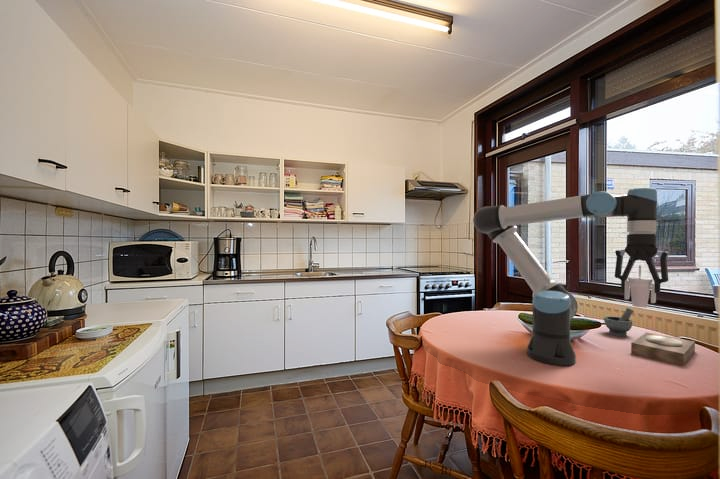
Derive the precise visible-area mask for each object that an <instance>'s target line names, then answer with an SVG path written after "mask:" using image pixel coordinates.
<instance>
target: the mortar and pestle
mask: <svg viewBox="0 0 720 479" xmlns="http://www.w3.org/2000/svg"><path fill="white" fill-rule="evenodd" d="M633 313H634V310H633V309H632V308H629V307H626V308H625V311H624V312H623V314H622V315H621V316H604V317H603V321H604V322H603V323H604V324H605V326H606V328H607V329H608V330H609V331H608V333H609V334H610V335H612V336H617V337H627V336H628V333H627V332H629V331H630V330H631V329H632V326H633V320H631V319H630V318H631V316H632V314H633Z"/></svg>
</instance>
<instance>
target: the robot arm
mask: <svg viewBox="0 0 720 479" xmlns="http://www.w3.org/2000/svg"><path fill="white" fill-rule="evenodd" d="M657 192H658V191H657V189H656V188H654V187H648V186H647V187H637V188H636V187H635V188H631V189H628V190H627V193H626V194H622V195H614V194H612V193H611V192H608V191H604V190H602V191H595V192H593V193H589V194H584V195H583V194H582V195H577V196H571V197H570V196H569V197H565V198H557V199H550V200H542V201H537V202H529V203H524V204H517V205H511V206H510V205H509V206H505V205H503V204H500V205H492V206H491V205H490V206H482V207H480V208H478V209H477V211H475V213H474V215H473V218H472V223H473V226H474V228H475V229H476V230H477V231H478V232H480V233H482V234H485V235H486V234H487V236H488V238H489V239H490V240H491V241H492V242H493V243H494V244H498V245H499V246H500V247H501V249H502V250H503V252H504V253H505V254H506V256H507V257H508V258H509V260H510V261H511V263H512V264H513V265H514V267H515V269H516V270H517V271H518V272H519V274H520V275H521V276H522V278H523V279H524V281H525V282H526V283H527V285H528V286H529V287H530V289H531V291H532V301H531V302H532V304H531V305H532V333H531V336H530V339H529V342H528V345H527V347H526V355H527V356H528V357H529V358H531V359H533V360H535V361H537V362H540V363H544V364H546V365H547V364H549V365H553V366H561V367H563V366H564V367H565V366H566V367H567V366H573V365H575V364H576V363H577V360H576V359H577V355H576V353H575V349H574V347H573V344H572V341H571V320H572V319H573V318H574V317H575V316H576V315H577V312H578V300H577V299H576V298H575V296H574V295H573V294H572V293H571V292H569V291H568V290H566V288H565V287H564V286H563V285H562V283H561V282H559V281H556V280H553V278H552V277H551V276H550V274H549V273H548V271H547V270H546V269H545V268H544V266H542V264H541V262H540V261H539V260H538V259H537V257H536V256H535V255H534V254H533V252H532V251H531V250H530V248H529V247H528V246H527V244H526V243H525V242H524V240H523V239H522V238H521V237H520V235H519V234H518V225H520V226H521V225H526V224H535V223H544V222H545V223H547V222H552V221H561V220H572V219H578V218H596V219H597V218H614V217H615V218H616V217H627V219H626V220H627V223H626V232H627V233H628V234H627V235H626V246H625V248H623V249H616V250H615V251H614V252H615V256H616V261H615V268H614V269H615V270H614V277H615V278H616V279H619V280H620V288H621V290H624V300H626V301H628V300H630V297H631V291H630V284H629V280H628V277H630V273H631V271H632V270H633V266H634V264H635V263H636V262H637V261H643V262H645V263H646V265H647V267H648V269H649V271H650V272H649V273H650V275H651V278H652V279H653V280H652V281H653V282H651V287H650V303H651V304H656V303H657V294H660V293H661V284H662V283H663V284H664V283H667V282H668V281H669V271H668V257H669V251H662V250H659V249H658V247H657V235H656V233H657V216H658V215H657V214H658V193H657ZM625 253H626V254H627V256H628V257H629V258H628V261H627V264H626V266H625V269H624V271H622V268H623V261H624V256H625ZM656 255H657V256H658V257H659V264H660V276H661V278H660V276H659V273H658V270H657V269H656V266H655V264H654V263H655V262H654V260H653V257H654V256H656Z"/></svg>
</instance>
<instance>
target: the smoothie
mask: <svg viewBox="0 0 720 479" xmlns="http://www.w3.org/2000/svg"><path fill="white" fill-rule="evenodd" d="M627 280H629V284H630V297H631V303H632V306H633V307H637V308H648V303H649V297H650V294H651V283H654V280H653V278H652V277H651V278H650V277H642V265H641V264H640V265H638V276H628V278H627Z"/></svg>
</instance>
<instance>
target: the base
mask: <svg viewBox="0 0 720 479" xmlns="http://www.w3.org/2000/svg"><path fill="white" fill-rule="evenodd" d="M695 345H696V341H694V340H689V339H684V338H678V337H674V336H673V337H672V336H667V335H663V334H657V333H652V332H645V333H644V334H642V335H640V336H639V337H637V338H636V339H635V340H633V341H632V342H631V348H630V350H631V352H630V353H631V354H634V355H637V356H638V355H639V356H642V357H646V358H650V359H654V360H659V361H664V362H668V363H670V364H671V363H672V364H676V365H681V366H685V365H686V363H687V362H688V361H689V360H690V358H692V356H693V355H694V353H695V352H696V346H695Z"/></svg>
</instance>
